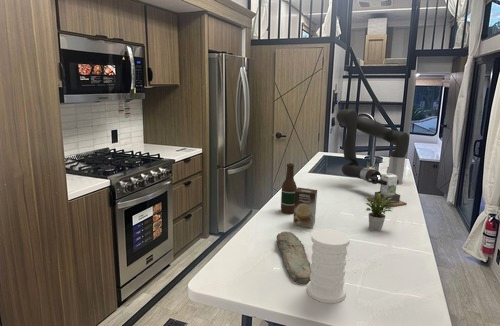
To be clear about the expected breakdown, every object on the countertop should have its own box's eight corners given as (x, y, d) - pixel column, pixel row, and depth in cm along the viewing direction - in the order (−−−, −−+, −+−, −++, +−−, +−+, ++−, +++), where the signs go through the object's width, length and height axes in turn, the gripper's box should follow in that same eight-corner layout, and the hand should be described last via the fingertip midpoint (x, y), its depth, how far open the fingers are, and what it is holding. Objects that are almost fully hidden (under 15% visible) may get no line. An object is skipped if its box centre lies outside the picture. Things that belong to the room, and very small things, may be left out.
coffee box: (292, 225, 157) (294, 191, 154) (295, 220, 163) (297, 187, 160) (313, 228, 154) (315, 193, 151) (315, 223, 160) (317, 189, 157)
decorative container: (316, 277, 116) (320, 225, 112) (351, 290, 109) (356, 235, 105) (300, 293, 106) (303, 237, 103) (336, 308, 100) (341, 249, 96)
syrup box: (387, 198, 195) (390, 173, 192) (394, 202, 189) (397, 175, 186) (378, 199, 193) (381, 173, 190) (386, 203, 188) (388, 176, 184)
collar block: (367, 200, 195) (368, 191, 194) (386, 198, 201) (387, 188, 200) (386, 209, 183) (387, 198, 182) (406, 205, 189) (407, 195, 187)
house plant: (374, 238, 146) (378, 200, 143) (350, 226, 158) (354, 191, 155) (398, 232, 153) (403, 196, 149) (374, 221, 165) (377, 187, 161)
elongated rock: (286, 289, 112) (317, 290, 112) (288, 274, 110) (320, 275, 111) (272, 236, 145) (296, 237, 146) (273, 224, 144) (297, 225, 145)
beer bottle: (298, 210, 177) (300, 163, 171) (293, 215, 170) (295, 166, 164) (283, 207, 180) (285, 161, 174) (277, 212, 173) (280, 164, 168)
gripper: (360, 170, 198) (382, 177, 183) (380, 168, 204) (403, 174, 189) (359, 183, 199) (381, 191, 185) (378, 180, 205) (401, 188, 191)
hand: (392, 182), depth 187 cm, fingers open, 8 cm apart
